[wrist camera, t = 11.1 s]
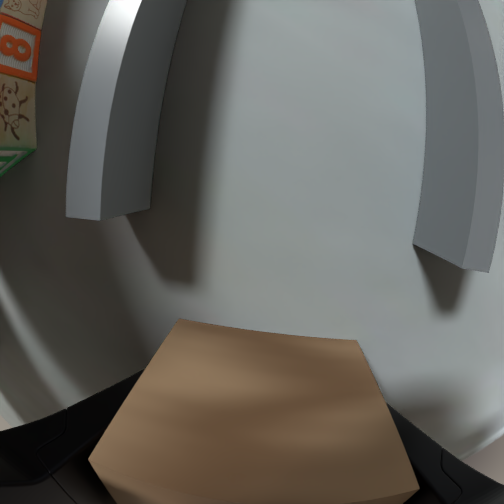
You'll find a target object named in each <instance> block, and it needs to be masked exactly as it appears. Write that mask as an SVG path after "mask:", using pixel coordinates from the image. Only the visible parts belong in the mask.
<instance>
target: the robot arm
mask: <svg viewBox="0 0 504 504" xmlns="http://www.w3.org/2000/svg"><path fill="white" fill-rule="evenodd" d="M145 369H146V368H145ZM145 369H143V370H141V371H140V372H138V373H136V374H134V375H132V376H130V377H128V378H126V379H124V380H122V381H120V382H119V383H117V384H115V385H113V386H111V387H109V388H107V389H105V390H103V391H101V392H99V393H97V394H95V395H93V396H91V397H89V398H87V399H85V400H82V401H80V402H78V403H76V404H74V405H72V406H70V407H68V408H67V409H63V410H61V411H59V412H57V413H54V414H52V415H50V416H47V417H45V418H42V419H40V420H37V421H34V422H31V423H28V424H25V425H21V426H18V427H14V428H11V429H7V430H3V431H0V504H117V503H116V501H115V500H114V499H113V497H112V496H111V494H110V493H109V492H108V490H107V489H106V487H105V486H104V484H103V483H102V481H101V480H100V478H99V477H98V475H97V473H96V472H95V470H94V468H93V467H92V465H91V463H90V462H89V460H88V458H89V457H90V455H91V453H92V452H93V450H94V449H95V447H96V445H97V444H98V442H99V440H100V439H101V437H102V436H103V434H104V432H105V431H106V429H107V428H108V426H109V424H110V423H111V421H112V420H113V418H114V417H115V415H116V413H117V412H118V410H119V409H120V407H121V406H122V404H123V402H124V401H125V399H126V398H127V396H128V395H129V393H130V392H131V390H132V388H133V387H134V385H135V384H136V382H137V381H138V379H139V378H140V376H141V375H142V373H143V372H144V370H145ZM386 405H387V407H388V409H389V412H390V414H391V416H392V419H393V421H394V423H395V426H396V428H397V431H398V433H399V435H400V438H401V440H402V443H403V445H404V448H405V450H406V453H407V456H408V458H409V461H410V463H411V466H412V469H413V471H414V474H415V477H416V479H417V482H418V485H419V488H420V489H419V490H418V491H417V492H416V493H414V494H413V495H412V496H411V497H410V498H409V499H408V500H407V501H405V502H404V503H403V504H504V485H502V484H500V483H498V482H496V481H494V480H493V479H491V478H489V477H487V476H485V475H483V474H482V473H480V472H478V471H476V470H475V469H473V468H471V467H470V466H468V465H467V464H465V463H463V462H462V461H460V460H459V459H458V458H456V457H455V456H453V455H452V454H451V453H449V452H448V451H447V450H445V449H444V448H442V447H441V446H440V445H439V444H437V443H436V442H435V441H434V440H432V439H431V438H430V437H428V436H427V435H426V434H425V433H423V432H422V431H421V430H420V429H418V428H417V427H416V426H415V425H413V424H412V423H411V422H409V421H408V420H407V419H406V418H404V417H403V416H402V415H401V414H400V413H398V412H397V411H396V410H395V409H393V408H392V407H391V406H390V405H388V404H387V403H386Z"/></svg>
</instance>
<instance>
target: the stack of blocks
mask: <svg viewBox="0 0 504 504" xmlns="http://www.w3.org/2000/svg"><path fill="white" fill-rule="evenodd" d="M46 5H47V0H0V177H1V176H2V175H3V174H5V173H6V172H7V171H8V170H9V169H11V168H12V167H13V166H14V165H16V164H17V163H18V162H20V161H21V160H22V159H24V158H25V157H26V156H27V155H29V154H30V153H32V152H33V151H35V150H36V149H37V138H36V121H35V83H36V80H37V68H38V55H39V46H40V38H41V29H42V25H43V20H44V14H45V9H46Z"/></svg>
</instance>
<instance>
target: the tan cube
mask: <svg viewBox="0 0 504 504" xmlns="http://www.w3.org/2000/svg"><path fill="white" fill-rule="evenodd" d="M88 460H89V462H90V463H91V465H92V467H93V468H94V470H95V472H96V473H97V475H98V477H99V478H100V480H101V481H102V483H103V484H104V486H105V487H106V489H107V490H108V492H109V493H110V494H111V496H112V497H113V499H114V500H115V501H116V503H117V504H403V503H404V502H405V501H407V500H408V499H409V498H410V497H411V496H412V495H413V494H414V493H416V492H417V491H418V490H419V489H420V488H419V485H418V482H417V479H416V477H415V474H414V471H413V469H412V466H411V463H410V461H409V458H408V456H407V453H406V450H405V448H404V445H403V443H402V440H401V438H400V435H399V433H398V431H397V428H396V426H395V423H394V421H393V419H392V416H391V414H390V412H389V409H388V407H387V405H386V402H385V400H384V398H383V396H382V393H381V391H380V389H379V387H378V385H377V382H376V380H375V378H374V376H373V374H372V372H371V369H370V367H369V365H368V363H367V361H366V359H365V357H364V355H363V352H362V350H361V348H360V346H359V344H358V342H357V340H343V339H329V338H317V337H305V336H295V335H286V334H277V333H268V332H260V331H253V330H245V329H238V328H232V327H225V326H219V325H213V324H207V323H201V322H195V321H189V320H184V319H178V321H177V322H176V324H175V325H174V326H173V328H172V329H171V331H170V332H169V334H168V335H167V337H166V338H165V340H164V341H163V343H162V344H161V346H160V347H159V349H158V350H157V352H156V353H155V355H154V356H153V358H152V359H151V361H150V362H149V364H148V365H147V367H146V369H145V370H144V372H143V373H142V375H141V376H140V378H139V379H138V381H137V382H136V384H135V385H134V387H133V388H132V390H131V392H130V393H129V395H128V396H127V398H126V399H125V401H124V402H123V404H122V406H121V407H120V409H119V410H118V412H117V413H116V415H115V417H114V418H113V420H112V421H111V423H110V424H109V426H108V428H107V429H106V431H105V432H104V434H103V436H102V437H101V439H100V440H99V442H98V444H97V445H96V447H95V449H94V450H93V452H92V453H91V455H90V457H89V458H88Z"/></svg>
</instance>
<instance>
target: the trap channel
mask: <svg viewBox="0 0 504 504" xmlns="http://www.w3.org/2000/svg"><path fill="white" fill-rule="evenodd" d="M186 2H187V0H110V1H109V3H108V5H107V7H106V10H105V12H104V15H103V17H102V20H101V22H100V25H99V28H98V30H97V33H96V36H95V39H94V42H93V45H92V48H91V51H90V54H89V58H88V61H87V64H86V68H85V72H84V75H83V79H82V83H81V88H80V92H79V96H78V101H77V106H76V111H75V117H74V123H73V129H72V136H71V143H70V151H69V161H68V172H67V188H66V217H69V218H79V219H89V220H98V221H101V220H105V219H109V218H113V217H117V216H121V215H125V214H129V213H133V212H138V211H142V210H146V209H150V201H151V188H152V177H153V167H154V157H155V149H156V141H157V134H158V127H159V120H160V114H161V108H162V102H163V96H164V91H165V86H166V81H167V76H168V71H169V66H170V62H171V57H172V53H173V49H174V45H175V41H176V37H177V33H178V29H179V26H180V22H181V19H182V15H183V12H184V9H185V5H186ZM415 4H416V8H417V14H418V19H419V25H420V31H421V38H422V46H423V55H424V66H425V81H426V144H425V159H424V171H423V181H422V190H421V197H420V204H419V211H418V217H417V223H416V229H415V234H414V239H413V244H414V245H416V246H418V247H421V248H423V249H425V250H427V251H429V252H431V253H433V254H435V255H437V256H439V257H441V258H443V259H445V260H447V261H449V262H451V263H453V264H454V265H456V266H458V267H460V268H462V269H469V270H475V271H481V272H487V273H489V270H490V266H491V262H492V257H493V253H494V248H495V243H496V238H497V233H498V227H499V221H500V214H501V206H502V197H503V186H504V113H503V103H502V94H501V87H500V80H499V74H498V69H497V64H496V59H495V54H494V50H493V46H492V42H491V38H490V35H489V31H488V28H487V24H486V21H485V18H484V15H483V12H482V9H481V7H480V4H479V1H478V0H415Z"/></svg>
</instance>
